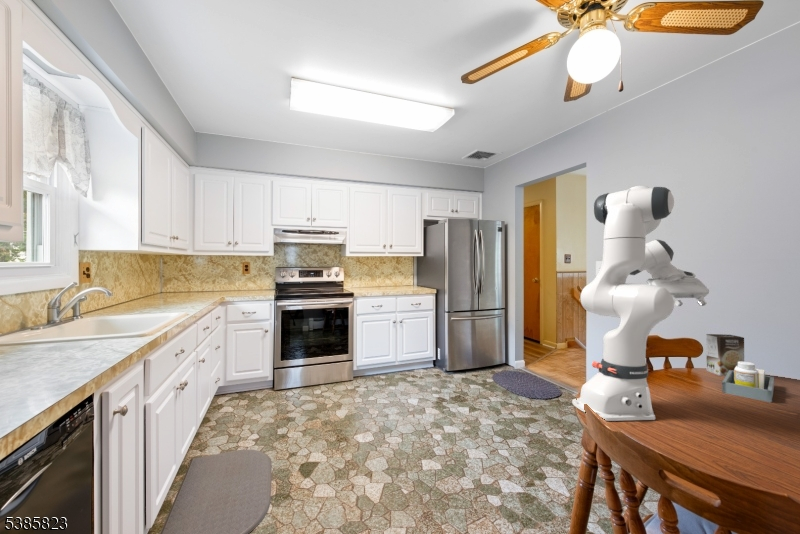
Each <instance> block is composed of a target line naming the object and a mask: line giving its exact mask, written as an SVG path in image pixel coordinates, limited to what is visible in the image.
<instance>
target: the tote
mask: <svg viewBox="0 0 800 534" xmlns="http://www.w3.org/2000/svg"><path fill="white" fill-rule="evenodd" d="M721 388H722V389H721V390H722V392H721V393H723V394H726V395H727V394H728V395H733V396H736V397H742V398H747V399H751V400H757V401H762V402H766V403H772V402H773V397H774V396H773V395H774V388H775V377H774V376H770V375H765V389H760V388H754V387H749V386H744V385H738V384H734V371H733V370H729V371H728V373H727V375H726V376H724V378H723V380H722V381H721Z"/></svg>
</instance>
